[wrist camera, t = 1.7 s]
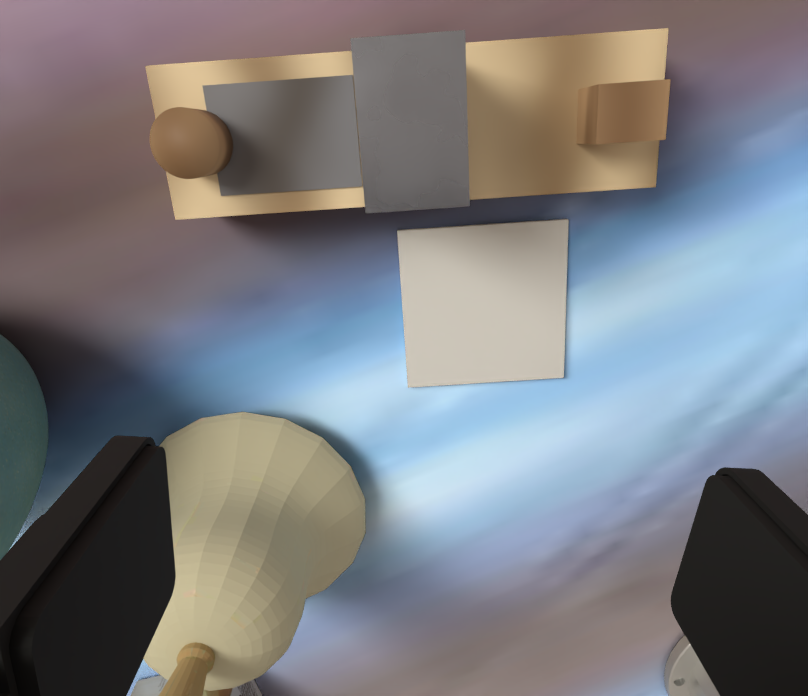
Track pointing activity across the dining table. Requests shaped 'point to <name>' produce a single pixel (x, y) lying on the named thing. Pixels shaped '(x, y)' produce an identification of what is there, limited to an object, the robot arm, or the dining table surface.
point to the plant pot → (19, 441)
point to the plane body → (339, 138)
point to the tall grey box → (412, 120)
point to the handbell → (248, 545)
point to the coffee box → (150, 688)
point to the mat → (484, 302)
